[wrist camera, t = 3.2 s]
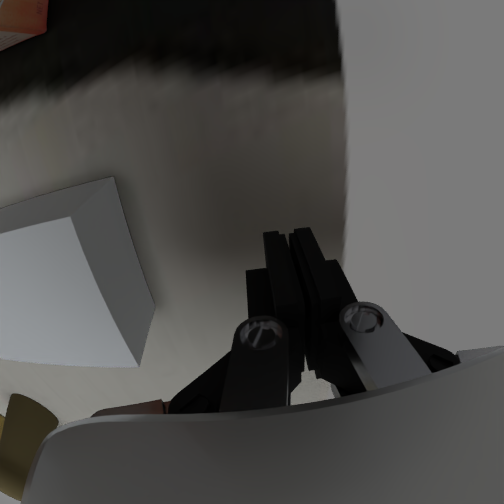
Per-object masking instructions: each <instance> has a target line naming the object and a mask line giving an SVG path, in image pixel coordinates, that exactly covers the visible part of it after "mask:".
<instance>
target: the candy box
mask: <svg viewBox="0 0 504 504" xmlns="http://www.w3.org/2000/svg"><path fill="white" fill-rule="evenodd" d="M4 421H5V418H4V417H3V416H1V415H0V439H1V434H2V430H3V425H4Z"/></svg>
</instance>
